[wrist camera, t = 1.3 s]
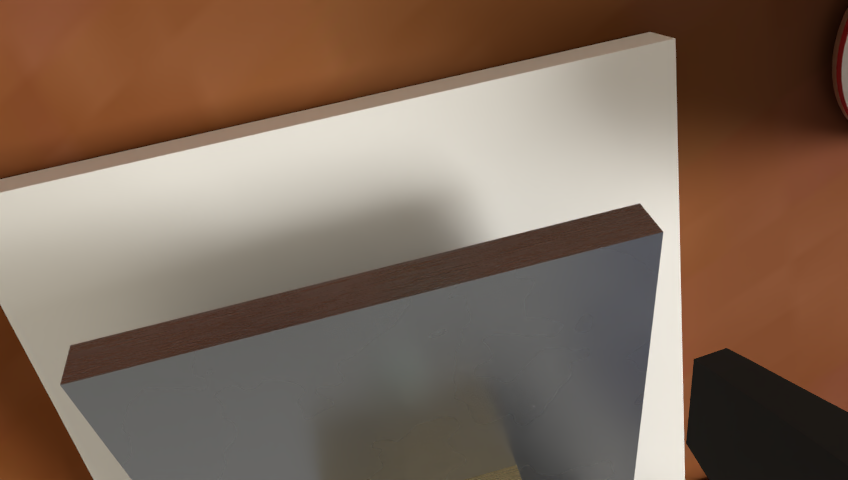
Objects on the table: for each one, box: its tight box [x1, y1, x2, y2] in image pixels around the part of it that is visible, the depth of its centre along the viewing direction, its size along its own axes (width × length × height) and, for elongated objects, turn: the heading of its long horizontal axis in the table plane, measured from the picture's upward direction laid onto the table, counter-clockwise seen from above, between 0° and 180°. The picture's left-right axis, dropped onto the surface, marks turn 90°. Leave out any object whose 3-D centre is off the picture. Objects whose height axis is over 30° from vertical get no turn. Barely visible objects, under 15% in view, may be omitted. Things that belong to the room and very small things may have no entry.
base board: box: [0, 32, 685, 480], centre depth 23 cm, size 20×20×3 cm
